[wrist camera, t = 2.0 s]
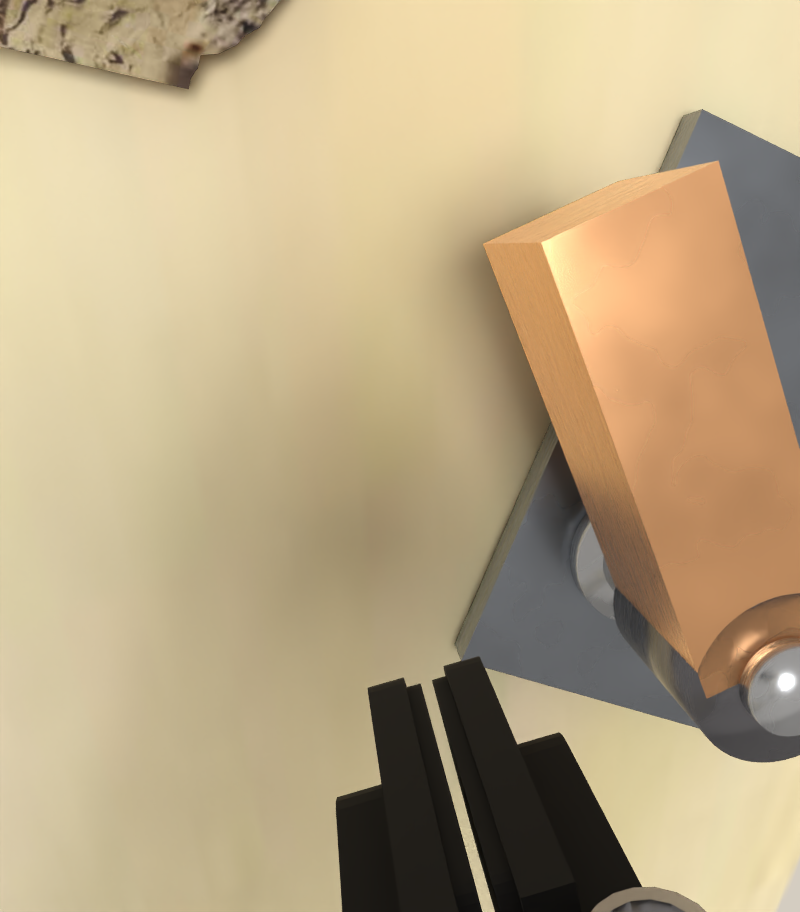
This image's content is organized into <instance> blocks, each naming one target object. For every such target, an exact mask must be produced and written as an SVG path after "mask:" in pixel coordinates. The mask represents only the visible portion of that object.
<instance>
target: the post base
mask: <svg viewBox="0 0 800 912" xmlns="http://www.w3.org/2000/svg"><path fill="white" fill-rule="evenodd" d="M714 161H719V164H720V168H721V171H722V175H723V178H724V182H725V185H726V189H727V193H728V196H729V200H730V203H731V207H732V210H733V214H734V217H735V221H736V225H737V228H738V232H739V235H740V239H741V242H742V246H743V249H744V253H745V257H746V260H747V264H748V267H749V271H750V274H751V278H752V281H753V285H754V289H755V292H756V296H757V299H758V303H759V306H760V310H761V314H762V317H763V321H764V324H765V328H766V331H767V335H768V338H769V342H770V346H771V349H772V353H773V356H774V360H775V363H776V367H777V370H778V374H779V378H780V381H781V385H782V388H783V392H784V395H785V399H786V403H787V406H788V410H789V413H790V417H791V420H792V424H793V427H794V431H795V435H796V438H797V442H798V445H799V449H800V157H798V156H796V155H794V154H792V153H790V152H788V151H786V150H784V149H782V148H780V147H778V146H776V145H773V144H771V143H769V142H767V141H765V140H763V139H761V138H759V137H757V136H755V135H753V134H751V133H749V132H747V131H745V130H743V129H741V128H739V127H737V126H735V125H733V124H731V123H729V122H727V121H725V120H723V119H721V118H719V117H717V116H715V115H713V114H711V113H709V112H707V111H705V110H703V109H702V110H699V111H696V112H693V113H690V114H687V115H684V116H683V118H682V120H681V123H680V125H679V127H678V130H677V132H676V134H675V136H674V139H673V141H672V143H671V146H670V148H669V150H668V153H667V155H666V157H665V160H664V162H663V164H662V167H661V169H660V171H659V173H661V172H665V171H670V170H675V169H680V168H685V167H690V166H695V165H699V164H704V163H709V162H714ZM614 590H615V584H614V582H613V579H612V576H611V574H610V571H609V569H608V566H607V564H606V561H605V558H604V556H603V553H602V551H601V548H600V545H599V543H598V540H597V538H596V535H595V532H594V530H593V527H592V525H591V522H590V520H589V517H588V514H587V512H586V509H585V507H584V504H583V501H582V499H581V496H580V494H579V491H578V489H577V486H576V483H575V481H574V478H573V476H572V473H571V470H570V468H569V465H568V463H567V460H566V458H565V455H564V452H563V450H562V447H561V445H560V442H559V439H558V437H557V434H556V432H555V429H554V427H553V424H552V421H551V423H550V425H549V428H548V430H547V432H546V435H545V437H544V439H543V441H542V444H541V446H540V448H539V451H538V453H537V455H536V458H535V460H534V462H533V465H532V467H531V469H530V471H529V474H528V476H527V478H526V481H525V483H524V485H523V488H522V490H521V492H520V495H519V497H518V499H517V502H516V504H515V506H514V508H513V511H512V513H511V515H510V518H509V520H508V522H507V525H506V527H505V529H504V532H503V534H502V536H501V538H500V541H499V543H498V545H497V548H496V550H495V552H494V555H493V557H492V559H491V562H490V564H489V566H488V569H487V571H486V573H485V575H484V578H483V580H482V582H481V585H480V587H479V589H478V592H477V594H476V596H475V599H474V601H473V603H472V605H471V608H470V610H469V612H468V615H467V617H466V619H465V622H464V624H463V626H462V629H461V631H460V633H459V636H458V638H457V640H456V642H455V646H456V649H457V651H458V654H459V656H460V659H461V661H463V660H467V659H470V658H474V657H477V656H479V657H480V658H481V660H482V663H483V665H484V667H485V668H488V669H492V670H496V671H499V672H503V673H506V674H510V675H513V676H517V677H520V678H524V679H527V680H531V681H534V682H538V683H541V684H545V685H548V686H552V687H555V688H559V689H562V690H566V691H569V692H573V693H576V694H580V695H583V696H587V697H590V698H594V699H598V700H601V701H605V702H608V703H612V704H615V705H619V706H622V707H626V708H629V709H633V710H636V711H640V712H643V713H647V714H650V715H654V716H657V717H661V718H664V719H668V720H671V721H675V722H678V723H682V724H685V725H689V726H692V727H696V728H699V727H698V726H697V725H696V724H695V722H694V721H693V720H692V719H691V718H690V717H689V715H688V714H687V713H686V712H685V711H684V709H683V708H682V707H681V706H680V705H679V703H678V702H677V701H676V700H675V699H674V698H673V696H672V695H671V694H670V693H669V692H668V690H667V689H666V688H665V687H664V686H663V684H662V683H661V682H660V681H659V680H658V679H657V677H656V676H655V675H654V674H653V673H652V671H651V670H650V669H649V668H648V667H647V665H646V664H645V663H644V662H643V661H642V660H641V658H640V657H639V656H638V655H637V654H636V652H635V651H634V650H633V649H632V648H631V646H630V645H629V644H628V643H627V642H626V640H625V639H624V638H623V636H622V635H621V633H620V631H619V629H618V627H617V624H616V621H615V617H614V611H613V598H614Z"/></svg>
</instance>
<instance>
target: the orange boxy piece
mask: <svg viewBox="0 0 800 912" xmlns="http://www.w3.org/2000/svg"><path fill="white" fill-rule="evenodd" d="M483 246H484V248H485V251H486V253H487V256H488V258H489V261H490V264H491V266H492V269H493V271H494V274H495V277H496V279H497V282H498V284H499V287H500V290H501V292H502V295H503V297H504V300H505V302H506V305H507V308H508V310H509V313H510V315H511V318H512V321H513V323H514V326H515V328H516V331H517V333H518V336H519V339H520V341H521V344H522V346H523V349H524V352H525V354H526V357H527V359H528V362H529V364H530V367H531V370H532V372H533V375H534V377H535V380H536V383H537V385H538V388H539V390H540V393H541V395H542V398H543V401H544V403H545V406H546V408H547V411H548V414H549V416H550V419H551V421H552V424H553V427H554V429H555V432H556V434H557V437H558V439H559V442H560V445H561V447H562V450H563V452H564V455H565V458H566V460H567V463H568V465H569V468H570V470H571V473H572V476H573V478H574V481H575V483H576V486H577V489H578V491H579V494H580V496H581V499H582V501H583V504H584V507H585V509H586V512H587V514H588V517H589V520H590V522H591V525H592V527H593V530H594V532H595V535H596V538H597V540H598V543H599V545H600V548H601V551H602V553H603V556H604V558H605V561H606V564H607V566H608V569H609V571H610V574H611V576H612V579H613V582H614V584H615V590H614V598H613V611H614V617H615V621H616V624H617V627H618V629H619V631H620V633H621V635H622V636H623V638H624V639H625V640H626V642H627V643H628V644H629V645H630V646H631V648H632V649H633V650H634V651H635V652H636V654H637V655H638V656H639V657H640V658H641V660H642V661H643V662H644V663H645V664H646V665H647V667H648V668H649V669H650V670H651V671H652V673H653V674H654V675H655V676H656V677H657V679H658V680H659V681H660V682H661V683H662V684H663V686H664V687H665V688H666V689H667V690H668V692H669V693H670V694H671V695H672V696H673V698H674V699H675V700H676V701H677V702H678V703H679V705H680V706H681V707H682V708H683V709H684V711H685V712H686V713H687V714H688V715H689V717H690V718H691V719H692V720H693V721H694V722H695V724H696V725H697V726H698V727H699V728H700V730H701V731H702V732H703V733H704V734H705V736H706V737H707V738H708V739H709V740H710V741H711V742H712V743H713V744H714V745H715V746H716V747H717V748H719V749H720V750H721V751H723V752H725V753H727V754H728V755H730V756H733V757H735V758H738V759H741V760H746V761H751V762H775V761H781V760H786V759H789V758H793V757H796V756H798V755H800V449H799V445H798V442H797V438H796V435H795V431H794V427H793V424H792V420H791V417H790V413H789V410H788V406H787V403H786V399H785V395H784V392H783V388H782V385H781V381H780V378H779V374H778V370H777V367H776V363H775V360H774V356H773V353H772V349H771V346H770V342H769V338H768V335H767V331H766V328H765V324H764V321H763V317H762V314H761V310H760V306H759V303H758V299H757V296H756V292H755V289H754V285H753V281H752V278H751V274H750V271H749V267H748V264H747V260H746V257H745V253H744V249H743V246H742V242H741V239H740V235H739V232H738V228H737V225H736V221H735V217H734V214H733V210H732V207H731V203H730V200H729V196H728V193H727V189H726V185H725V182H724V178H723V175H722V171H721V168H720V164H719V161H714V162H709V163H704V164H699V165H695V166H690V167H685V168H680V169H675V170H670V171H665V172H661V173H656V174H651V175H646V176H641V177H636V178H631V179H627V180H622V181H618V182H616V183H613V184H611V185H609V186H607V187H605V188H603V189H600V190H598V191H596V192H594V193H592V194H590V195H587V196H585V197H583V198H581V199H579V200H577V201H574V202H572V203H570V204H568V205H566V206H564V207H561V208H559V209H557V210H555V211H553V212H551V213H548V214H546V215H544V216H542V217H540V218H538V219H535V220H533V221H531V222H529V223H527V224H525V225H522V226H520V227H518V228H516V229H514V230H512V231H509V232H507V233H505V234H503V235H501V236H499V237H496V238H494V239H492V240H490V241H488V242H486V243H484V244H483Z"/></svg>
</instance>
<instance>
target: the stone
mask: <svg viewBox="0 0 800 912" xmlns="http://www.w3.org/2000/svg"><path fill="white" fill-rule="evenodd" d="M279 1H280V0H0V47H5V48H9V49H14V50H18V51H23V52H27V53H32V54H36V55H41V56H45V57H50V58H54V59H58V60H63V61H67V62H72V63H76V64H81V65H85V66H89V67H94V68H98V69H103V70H107V71H111V72H116V73H120V74H124V75H129V76H133V77H138V78H142V79H146V80H151V81H155V82H160V83H164V84H168V85H173V86H177V87H181V88H186V89H189V84H190V79H191V77H192V76H193V74H194V72H195V71H196V70H197V69H198V65H199V60H200V55H207V54H219V53H221V52H223V51H225V50H227V49H229V48H231V47H234V46H236V45H237V44H238V43H239V42H240V41H241V40H242V39H243V38H244V37H245V35H247V34H249V33H251V32H252V31H254V30H256V29H258V28H259V27H260V26H261V24H262V22H263V20H264V19H265V18H266V17H267V16H268V15H269V14H270V12H271V11H272V10H273V9H274V7H275V6H276V5H277V3H278V2H279Z"/></svg>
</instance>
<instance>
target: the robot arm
mask: <svg viewBox="0 0 800 912" xmlns="http://www.w3.org/2000/svg"><path fill="white" fill-rule="evenodd" d="M444 671H445V675H446V676H445V677H441V678H438V679H434V680H432V682H433V686H434V689H435V693H436V697H437V701H438V704H439V708H440V712H441V716H442V720H443V723H444V727H445V731H446V735H447V738H448V742H449V746H450V750H451V753H452V757H453V761H454V765H455V769H456V772H457V776H458V780H459V784H460V787H461V791H462V795H463V799H464V802H465V806H466V810H467V814H468V817H469V821H470V825H471V829H472V832H473V836H474V840H475V843H476V847H477V850H478V854H479V857H480V861H481V864H482V868H483V871H484V875H485V878H486V882H487V885H488V889H489V892H490V896H491V899H492V903H493V906H494V910H495V912H706V911H705V910H704V909H703V908H702V907H701V906H700V905H698V904H697V903H695V902H693V901H692V900H690V899H688V898H686V897H684V896H682V895H681V894H679V893H677V892H673V891H669V890H665V889H661V888H657V887H642V886H641V884H640V882H639V880H638V878H637V876H636V874H635V872H634V870H633V869H632V867H631V865H630V863H629V861H628V859H627V857H626V855H625V853H624V851H623V849H622V847H621V846H620V844H619V842H618V840H617V838H616V836H615V834H614V832H613V830H612V828H611V826H610V824H609V823H608V821H607V819H606V817H605V815H604V813H603V811H602V809H601V807H600V805H599V803H598V801H597V800H596V798H595V796H594V794H593V792H592V790H591V788H590V786H589V784H588V782H587V780H586V778H585V777H584V775H583V773H582V771H581V769H580V767H579V765H578V763H577V761H576V759H575V757H574V755H573V753H572V752H571V750H570V748H569V746H568V744H567V742H566V740H565V739H564V737H563V735H562V734H560V733H555V734H552V735H548V736H545V737H542V738H538V739H535V740H531V741H528V742H525V743H521V744H518V745H517V743H516V741H515V738H514V736H513V734H512V731H511V729H510V727H509V724H508V722H507V720H506V717H505V715H504V712H503V710H502V708H501V705H500V703H499V701H498V698H497V696H496V694H495V691H494V689H493V686H492V684H491V682H490V679H489V677H488V675H487V672H486V670H485V667H484V665H483V663H482V660H481V658H480V657H479V656H477V657H474V658H470V659H467V660H463V661H460V662H456V663H453V664H449V665H446V666H444ZM368 695H369V702H370V709H371V716H372V722H373V729H374V736H375V743H376V749H377V756H378V763H379V770H380V776H381V783H382V784H381V785H378V786H374V787H371V788H367V789H364V790H361V791H357V792H354V793H350V794H347V795H344V796H340V797H337V800H336V817H337V833H338V849H339V865H340V881H341V897H342V912H482V909H481V905H480V901H479V898H478V894H477V890H476V886H475V883H474V879H473V875H472V872H471V868H470V864H469V860H468V857H467V853H466V849H465V845H464V842H463V838H462V834H461V831H460V827H459V823H458V820H457V816H456V812H455V809H454V805H453V801H452V797H451V794H450V790H449V786H448V783H447V779H446V775H445V772H444V768H443V764H442V761H441V757H440V753H439V750H438V746H437V742H436V739H435V735H434V731H433V728H432V724H431V720H430V716H429V713H428V709H427V705H426V702H425V698H424V694H423V691H422V687H421V684H417V685H414V686H410V687H406V683H405V680H404V678H400V679H397V680H393V681H390V682H386V683H383V684H379V685H376V686H372V687H369V688H368Z"/></svg>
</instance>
